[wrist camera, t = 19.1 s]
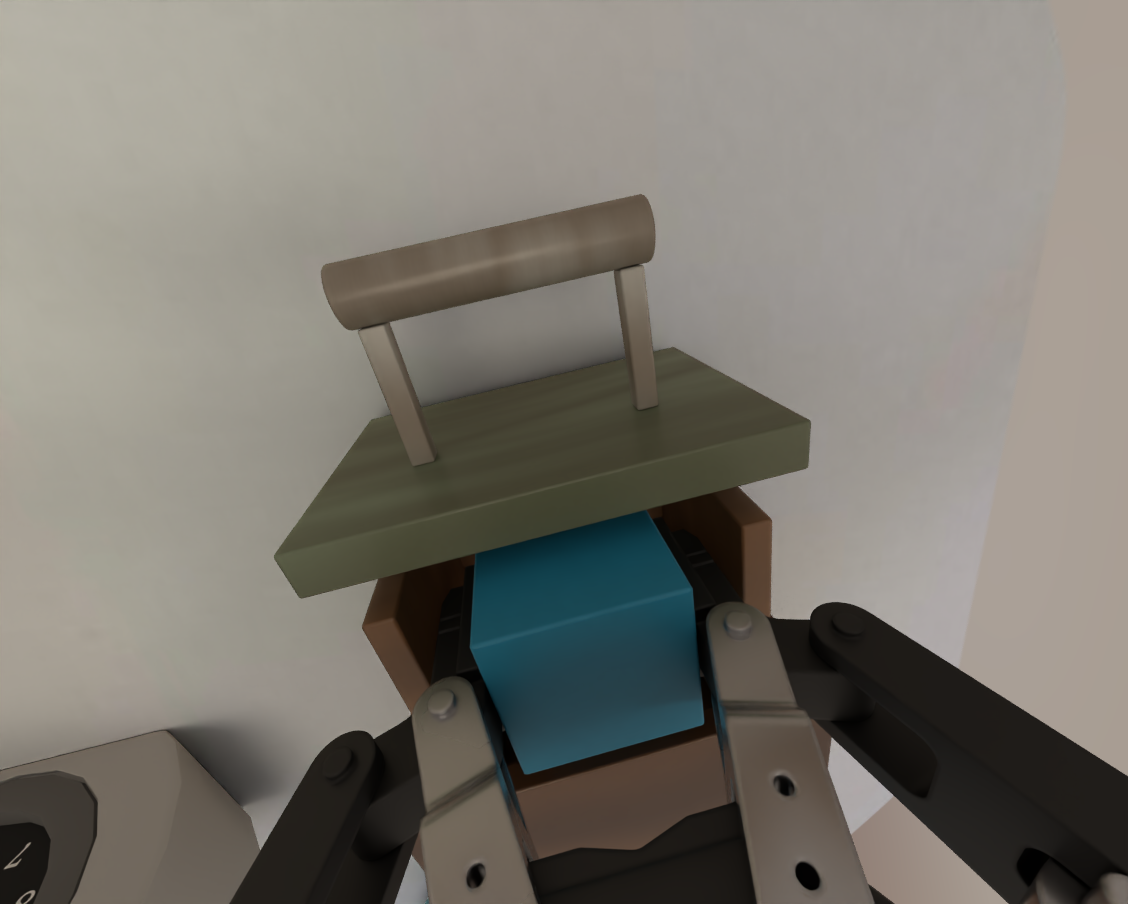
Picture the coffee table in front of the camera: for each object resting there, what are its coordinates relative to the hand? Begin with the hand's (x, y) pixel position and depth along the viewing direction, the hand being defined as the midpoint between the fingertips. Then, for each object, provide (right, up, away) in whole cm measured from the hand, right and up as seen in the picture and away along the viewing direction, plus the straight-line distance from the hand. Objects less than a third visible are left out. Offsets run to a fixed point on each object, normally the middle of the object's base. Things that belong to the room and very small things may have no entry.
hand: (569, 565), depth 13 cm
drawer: (-1, +2, +5) cm, 5 cm away
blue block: (0, 0, 0) cm, 0 cm away
